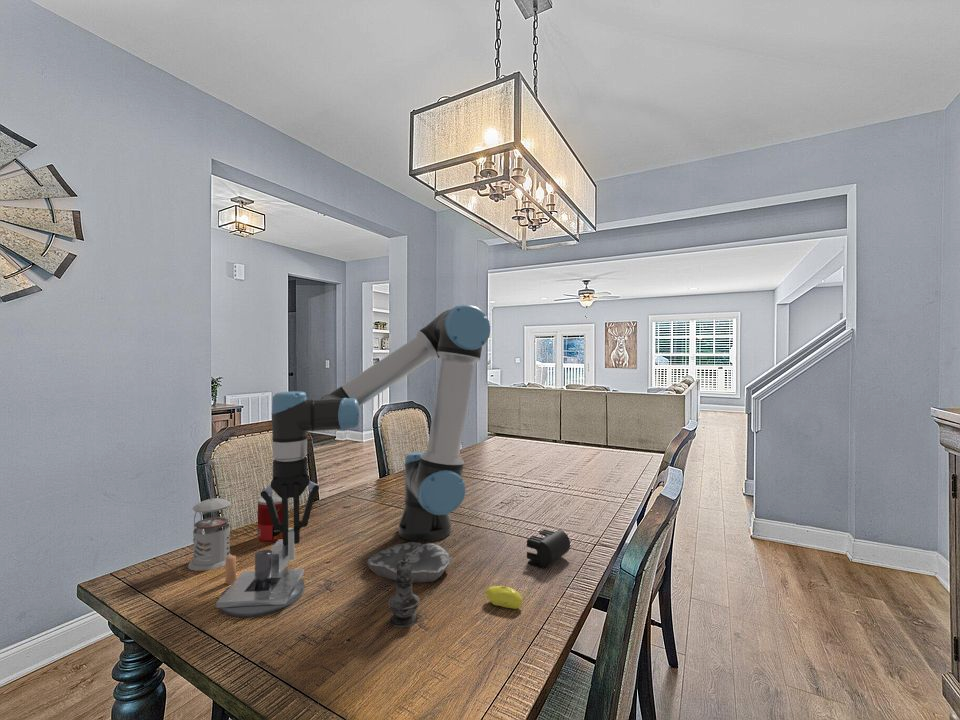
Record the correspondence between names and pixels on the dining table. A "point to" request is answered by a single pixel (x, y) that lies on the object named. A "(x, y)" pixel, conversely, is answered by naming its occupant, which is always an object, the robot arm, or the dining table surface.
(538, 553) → the end cap
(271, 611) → the post base
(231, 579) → the dowel
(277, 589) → the grey plastic holder
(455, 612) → the dining table surface
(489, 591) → the lemon
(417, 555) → the brain slice
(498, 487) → the dining table surface
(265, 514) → the canned food
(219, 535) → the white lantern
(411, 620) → the dark grey chess piece
